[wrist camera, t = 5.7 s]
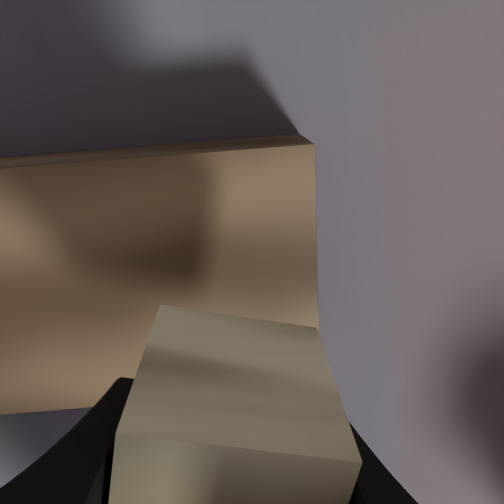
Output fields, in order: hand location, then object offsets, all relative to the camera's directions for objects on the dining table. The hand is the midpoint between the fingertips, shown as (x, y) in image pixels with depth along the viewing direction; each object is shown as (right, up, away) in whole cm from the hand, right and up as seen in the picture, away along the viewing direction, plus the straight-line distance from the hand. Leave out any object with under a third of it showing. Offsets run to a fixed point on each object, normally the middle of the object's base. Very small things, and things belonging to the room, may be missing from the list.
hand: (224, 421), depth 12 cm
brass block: (-6, +4, +9) cm, 11 cm away
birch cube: (0, +1, +1) cm, 2 cm away
